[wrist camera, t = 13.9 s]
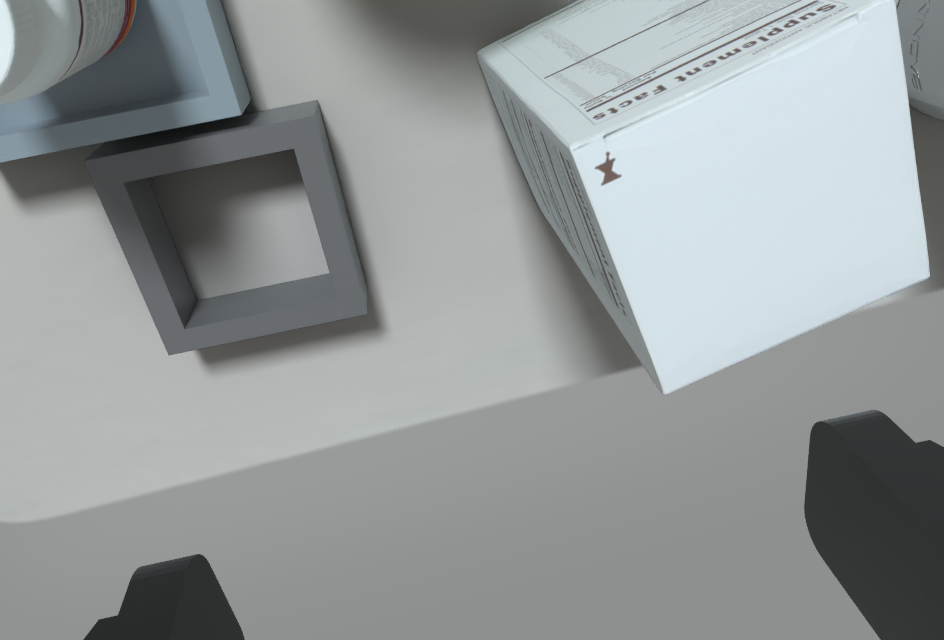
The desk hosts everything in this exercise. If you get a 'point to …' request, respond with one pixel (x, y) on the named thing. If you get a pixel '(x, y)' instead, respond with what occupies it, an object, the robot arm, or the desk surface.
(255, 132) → the gray hollow square frame
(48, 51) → the pill bottle
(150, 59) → the parts tray
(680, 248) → the supplement box
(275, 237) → the desk surface
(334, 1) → the desk surface
